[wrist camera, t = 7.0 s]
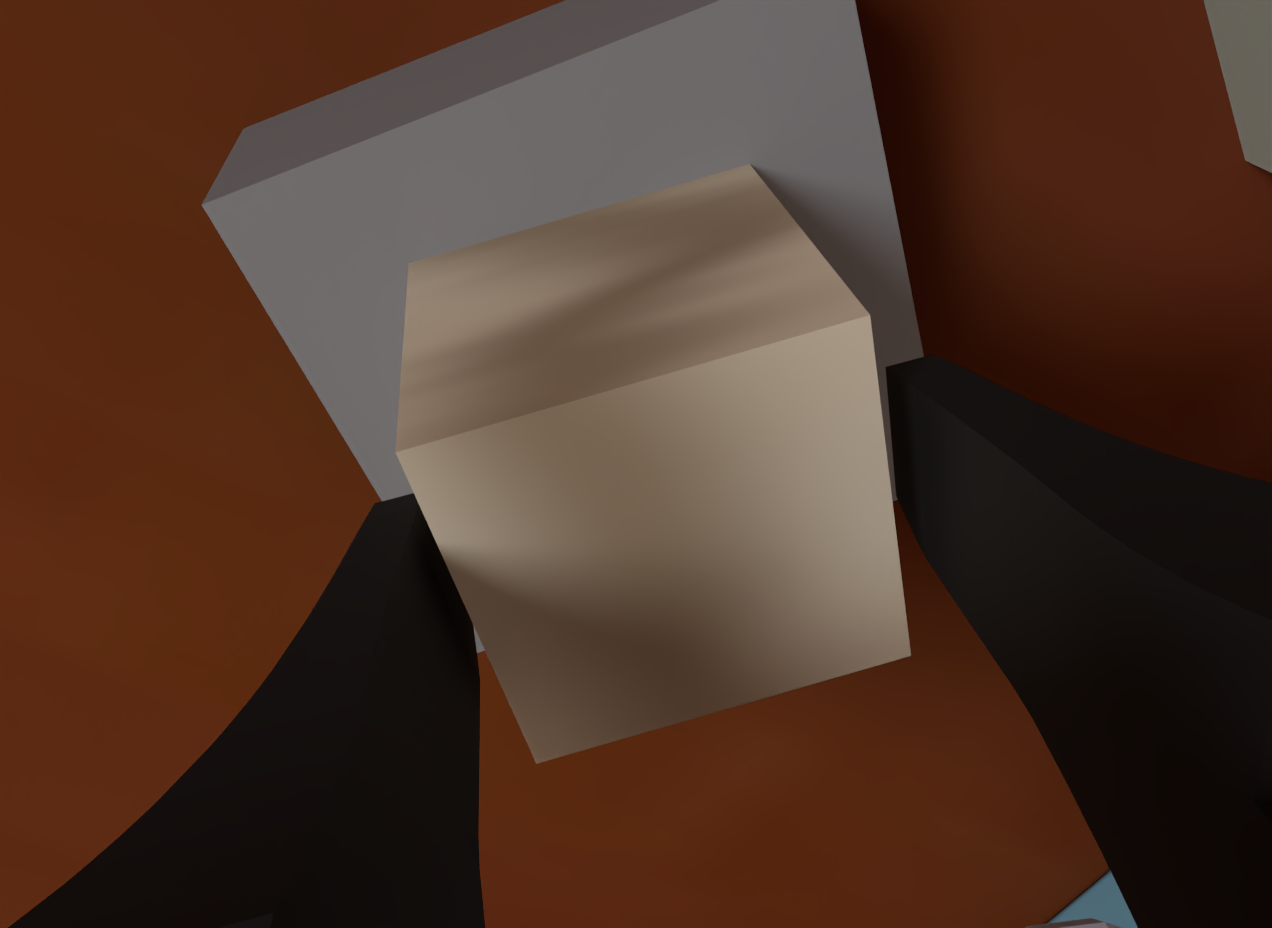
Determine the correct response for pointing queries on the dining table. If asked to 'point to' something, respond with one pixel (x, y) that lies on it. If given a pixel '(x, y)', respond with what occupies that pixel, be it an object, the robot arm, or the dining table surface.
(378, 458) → the base block
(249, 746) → the robot arm
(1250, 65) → the sage block
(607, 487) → the maple cube
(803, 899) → the dining table surface
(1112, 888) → the data package
